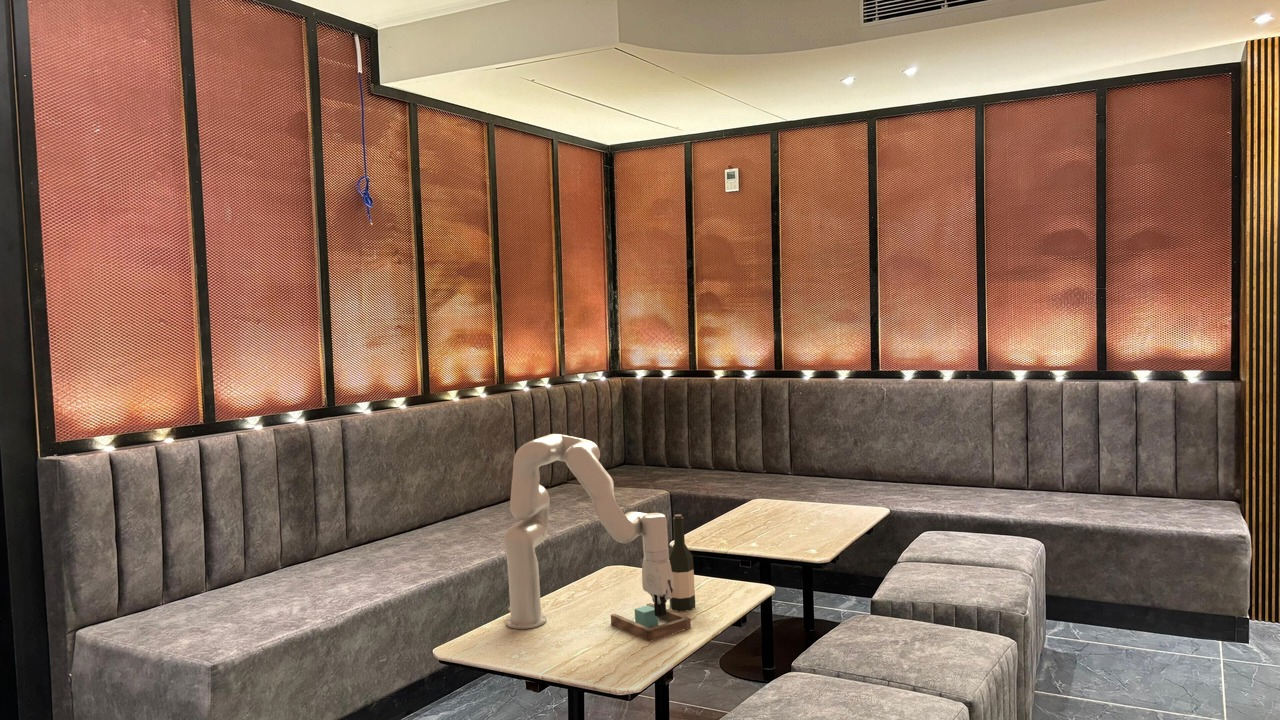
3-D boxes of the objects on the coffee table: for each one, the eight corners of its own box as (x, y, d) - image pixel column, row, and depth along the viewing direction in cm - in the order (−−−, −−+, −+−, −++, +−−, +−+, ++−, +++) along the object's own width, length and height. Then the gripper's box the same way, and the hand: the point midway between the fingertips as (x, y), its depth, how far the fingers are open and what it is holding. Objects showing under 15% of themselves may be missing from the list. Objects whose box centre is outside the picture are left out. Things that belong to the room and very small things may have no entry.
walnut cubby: (611, 624, 269) (610, 614, 269) (650, 612, 278) (650, 602, 278) (650, 641, 253) (649, 631, 253) (690, 627, 263) (690, 618, 263)
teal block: (635, 624, 268) (634, 608, 268) (648, 620, 271) (647, 605, 271) (645, 629, 264) (644, 612, 264) (658, 624, 267) (657, 608, 267)
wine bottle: (667, 611, 279) (662, 518, 277) (672, 602, 287) (668, 512, 285) (693, 611, 277) (688, 518, 275) (697, 603, 285) (693, 512, 283)
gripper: (631, 553, 265) (635, 613, 266) (662, 562, 253) (666, 624, 254) (651, 548, 269) (655, 606, 270) (682, 556, 257) (686, 617, 258)
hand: (660, 615), depth 262 cm, fingers closed
